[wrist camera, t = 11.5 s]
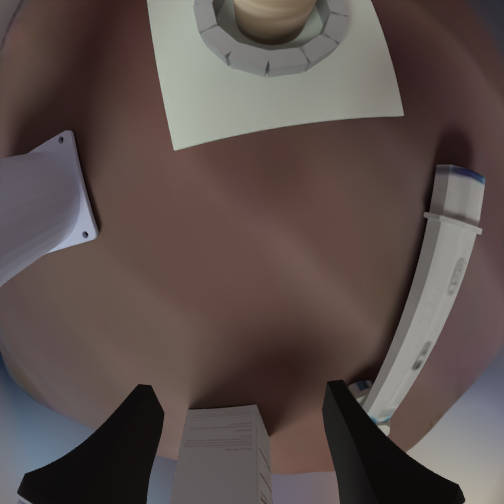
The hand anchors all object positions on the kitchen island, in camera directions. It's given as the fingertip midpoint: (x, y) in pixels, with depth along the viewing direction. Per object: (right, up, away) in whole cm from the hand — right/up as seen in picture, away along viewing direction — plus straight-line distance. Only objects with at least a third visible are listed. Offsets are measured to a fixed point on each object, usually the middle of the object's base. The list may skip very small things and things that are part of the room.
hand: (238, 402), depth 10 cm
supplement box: (-2, -12, +15) cm, 19 cm away
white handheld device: (+12, +1, +10) cm, 16 cm away
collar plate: (+2, +20, +2) cm, 20 cm away
